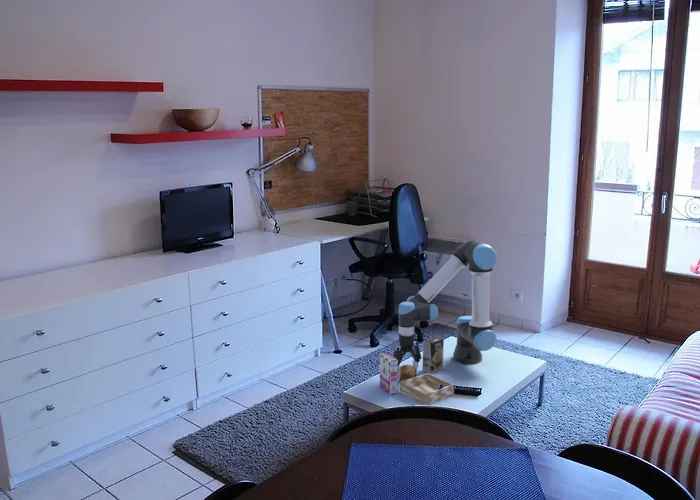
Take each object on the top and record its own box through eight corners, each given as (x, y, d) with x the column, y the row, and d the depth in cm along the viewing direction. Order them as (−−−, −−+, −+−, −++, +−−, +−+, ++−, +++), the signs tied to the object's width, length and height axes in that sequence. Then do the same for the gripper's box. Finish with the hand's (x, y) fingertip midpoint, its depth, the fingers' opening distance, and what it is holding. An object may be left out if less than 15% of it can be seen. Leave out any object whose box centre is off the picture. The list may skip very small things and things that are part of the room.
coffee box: (431, 374, 308) (432, 343, 305) (422, 370, 313) (422, 340, 310) (443, 369, 314) (444, 339, 311) (434, 365, 319) (434, 336, 315)
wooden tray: (427, 382, 298) (427, 372, 297) (453, 394, 284) (454, 384, 283) (399, 392, 287) (399, 382, 287) (425, 405, 273) (425, 394, 272)
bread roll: (411, 388, 300) (418, 375, 297) (392, 378, 301) (399, 365, 298) (413, 380, 309) (420, 367, 307) (395, 371, 310) (401, 357, 308)
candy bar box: (398, 393, 286) (398, 360, 283) (389, 395, 284) (389, 361, 281) (388, 384, 296) (388, 352, 293) (379, 386, 295) (379, 353, 291)
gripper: (418, 327, 309) (418, 368, 314) (383, 336, 296) (383, 379, 301) (429, 330, 304) (428, 373, 308) (393, 340, 290) (393, 384, 295)
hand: (406, 376), depth 304 cm, fingers closed on bread roll, 10 cm apart
